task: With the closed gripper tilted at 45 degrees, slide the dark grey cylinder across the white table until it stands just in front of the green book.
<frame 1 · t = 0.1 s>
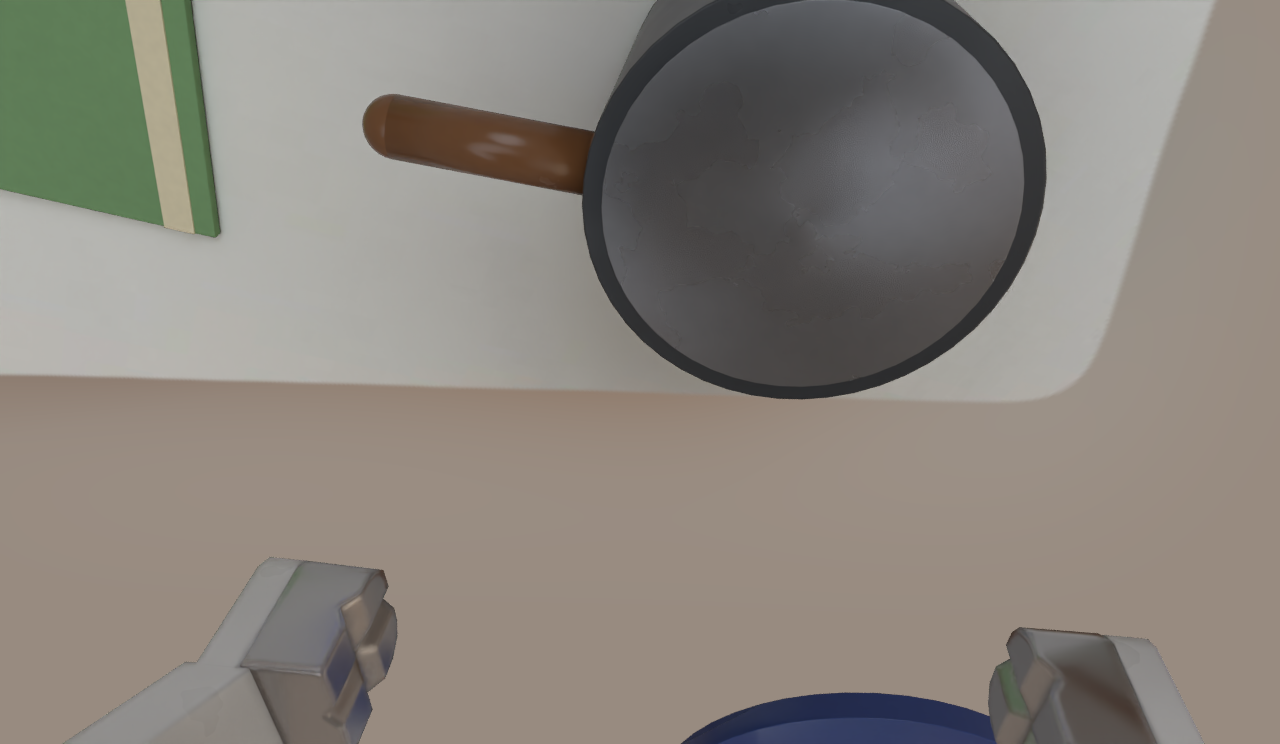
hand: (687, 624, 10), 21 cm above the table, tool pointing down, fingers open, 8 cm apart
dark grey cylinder: (787, 106, 27), on the table
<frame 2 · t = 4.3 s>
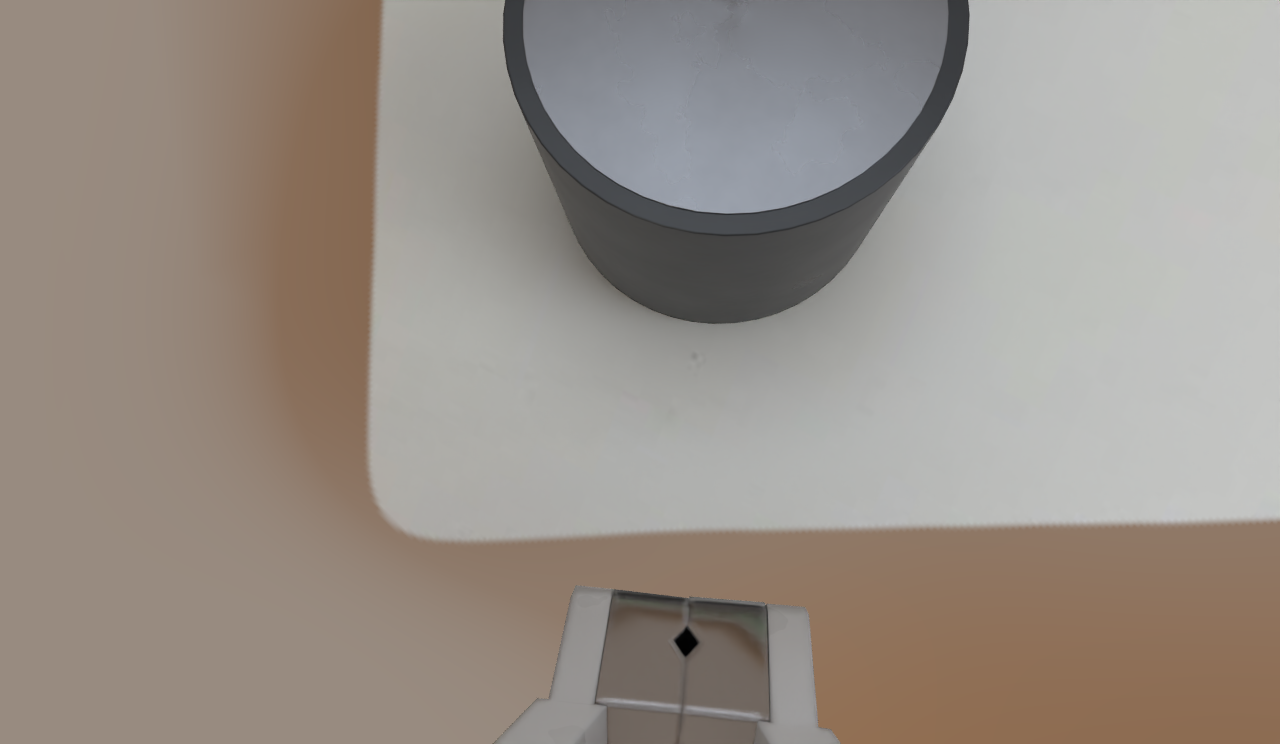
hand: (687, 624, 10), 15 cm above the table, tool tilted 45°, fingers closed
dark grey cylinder: (718, 169, 28), on the table
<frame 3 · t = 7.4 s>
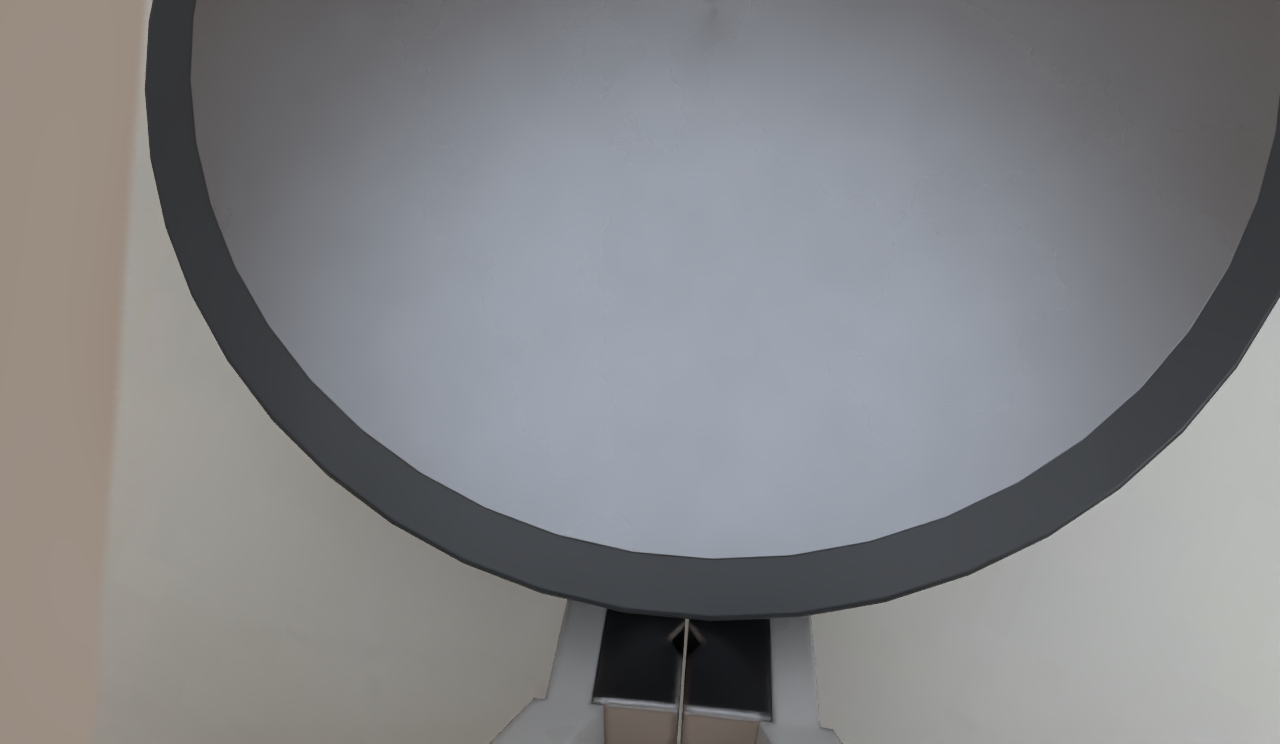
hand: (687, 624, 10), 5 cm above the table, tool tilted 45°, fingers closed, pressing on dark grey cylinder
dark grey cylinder: (700, 276, 16), on the table, touching gripper
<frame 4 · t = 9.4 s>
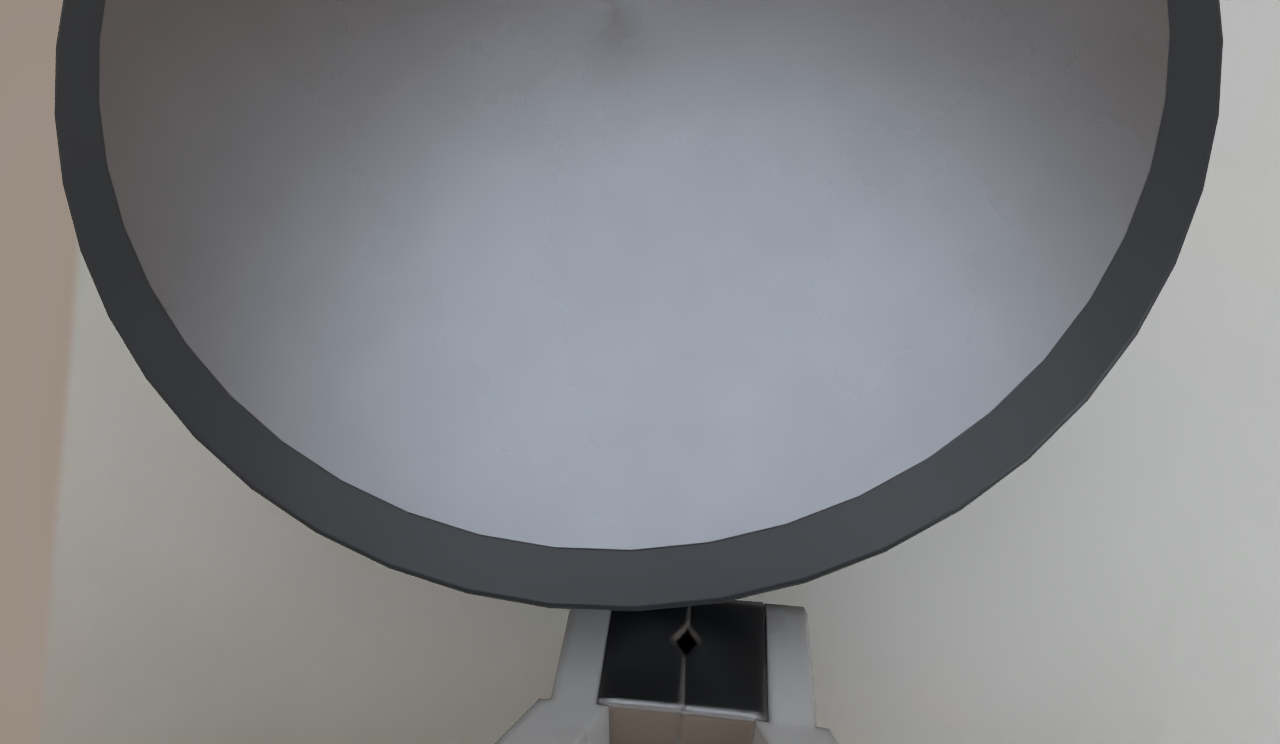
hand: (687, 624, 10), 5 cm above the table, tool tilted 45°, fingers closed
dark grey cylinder: (653, 274, 16), on the table, touching gripper
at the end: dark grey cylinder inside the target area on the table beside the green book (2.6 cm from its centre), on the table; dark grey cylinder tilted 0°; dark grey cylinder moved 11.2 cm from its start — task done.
